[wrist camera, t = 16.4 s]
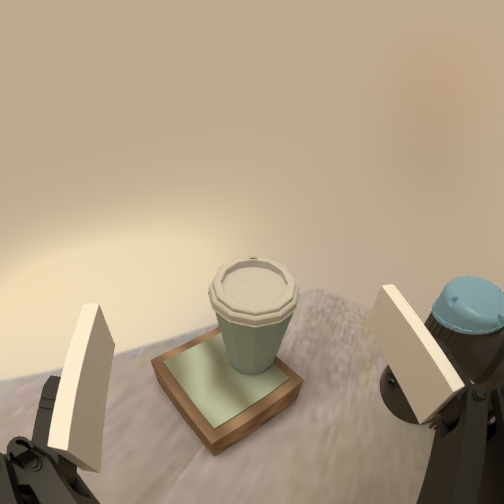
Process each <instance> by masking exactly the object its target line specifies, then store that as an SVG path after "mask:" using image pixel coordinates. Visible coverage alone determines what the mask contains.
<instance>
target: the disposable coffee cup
mask: <svg viewBox="0 0 504 504" xmlns="http://www.w3.org/2000/svg"><path fill="white" fill-rule="evenodd" d="M298 291H299V288H298V286H297V285H296V282H295V280H294V279H293V277H292V276H291V274H290V272H289V270H288V269H287V268H286V267H284V266H283V265H281V264H279V263H278V262H276V261H275V260H273V259H269V258H263V257H242V258H235V259H233V260H231V261H230V262H228V263H227V264H225V265H224V266H222V267H220V268H219V270H218V272H217V274H216V276H215V277H214V279H213V281H212V283H211V285H210V286H209V292H208V294H209V298H210V302H211V305H212V309H213V310H214V311H215V312H216V316H217V320H218V323H219V327H220V330H221V334H222V338H223V341H224V345H225V348H226V352H227V355H228V358H229V361H230V364H231V365H232V366H233V367H234V368H235V369H236V370H238V371H239V372H240V373H244V374H249V375H254V374H258V373H262V372H264V371H265V370H266V369H267V368H268V367H269V366H270V365H272V363H273V361H274V359H275V356H276V354H277V351H278V349H279V347H280V344H281V342H282V339H283V337H284V334H285V332H286V329H287V327H288V324H289V322H290V319H291V317H292V314H293V312H294V311H295V310H296V309H297V303H298V297H299V293H298Z"/></svg>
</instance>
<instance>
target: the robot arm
mask: <svg viewBox="0 0 504 504" xmlns="http://www.w3.org/2000/svg"><path fill="white" fill-rule="evenodd" d="M365 325H366V326H367V328H368V330H369V331H370V333H371V335H372V337H373V338H374V340H375V342H376V343H377V345H378V347H379V349H380V350H381V352H382V354H383V356H384V358H385V359H386V361H387V363H388V365H387V367H386V368H385V370H384V371H383V373H382V376H381V380H380V390H381V394H382V397H383V400H384V402H385V404H386V405H387V407H388V408H389V409H390V410H391V411H392V412H393V413H394V414H395V415H396V416H398V417H399V418H401V419H403V420H405V421H407V422H411V423H417V424H421V423H427V422H430V421H432V420H434V419H435V420H434V421H433V422H432V423H431V424H430V427H429V428H432V427H433V426H434V425H435V424H437V425H436V426H435V427H434V430H436V431H435V436H434V441H433V446H432V451H431V455H430V459H429V463H428V467H427V471H426V475H425V478H424V482H423V485H422V488H421V492H420V495H419V498H418V501H417V504H504V293H503V292H501V289H500V288H499V287H498V286H496V285H494V284H493V283H491V282H489V281H487V280H484V279H482V278H478V277H473V276H465V277H457V278H455V279H453V280H451V281H450V282H449V283H448V284H447V285H446V286H445V287H444V289H443V291H442V293H441V295H440V296H439V298H438V299H437V300H436V301H435V302H434V304H433V307H432V311H431V313H430V315H429V317H428V318H427V320H426V322H425V323H424V324H423V323H422V322H421V320H420V319H419V318H418V316H417V315H416V313H415V312H414V311H413V309H412V308H411V307H410V305H409V304H408V303H407V301H406V300H405V299H404V297H403V296H402V295H401V294H400V292H399V291H398V290H397V288H396V287H395V286H394V285H393V284H390V285H383V286H381V288H380V291H379V293H378V296H377V298H376V301H375V303H374V306H373V308H372V310H371V313H370V315H369V317H368V319H367V322H366V324H365ZM114 348H115V343H114V341H113V339H112V336H111V334H110V331H109V329H108V326H107V324H106V321H105V319H104V316H103V313H102V310H101V308H100V305H99V304H84V305H83V308H82V311H81V313H80V316H79V319H78V322H77V325H76V328H75V331H74V334H73V337H72V340H71V344H70V347H69V350H68V354H67V357H66V361H65V365H64V368H63V372H62V375H61V377H57V376H50V377H49V379H48V380H47V381H46V383H45V384H44V386H43V390H42V394H41V399H40V402H39V409H38V411H37V415H36V420H35V425H34V430H33V436H32V440H31V441H30V440H28V439H27V438H25V437H21V436H18V437H15V438H13V439H12V440H11V441H10V442H9V444H8V446H7V454H2V453H0V504H100V503H99V502H98V500H97V499H96V498H95V497H94V495H93V494H92V493H91V491H90V490H89V489H88V487H87V486H86V484H85V483H84V482H83V480H82V479H81V477H80V476H79V475H78V474H77V467H79V468H80V469H82V470H85V471H90V472H96V473H101V454H102V438H103V426H104V416H105V407H106V399H107V391H108V384H109V378H110V371H111V365H112V359H113V353H114ZM469 380H471V381H473V382H474V383H476V384H472V383H471V382H470V381H469ZM439 415H440V416H439ZM438 416H439V417H438ZM494 416H495V420H496V421H495V422H493V423H492V424H491V423H490V419H492V418H493V417H494ZM437 417H438V418H437ZM436 418H437V419H436Z"/></svg>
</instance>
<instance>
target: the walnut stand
mask: <svg viewBox="0 0 504 504" xmlns="http://www.w3.org/2000/svg"><path fill="white" fill-rule="evenodd" d="M151 363H152V366H153V368H154V371H155V374H156V377H157V380H158V382H159V383H160V385H161V386H162V388H163V389H164V391H165V392H166V394H167V395H168V397H169V398H170V399H171V401H172V402H173V404H174V405H175V406H176V408H177V409H178V411H179V412H180V413H181V415H182V416H183V417H184V419H185V420H186V421H187V423H188V424H189V425H190V427H191V428H192V429H193V431H194V432H195V433H196V434H197V436H198V437H199V438H200V439H201V441H202V442H203V443H204V444H205V446H206V447H207V448H208V449H209V450H210V452H211V453H212V454H213V455H214V456H215V455H217V454H219V453H220V452H222V451H223V450H225V449H227V448H228V447H230V446H231V445H233V444H235V443H236V442H238V441H239V440H241V439H242V438H244V437H245V436H247V435H248V434H250V433H251V432H253V431H254V430H256V429H257V428H258V427H260V426H261V425H263V424H264V423H265V422H267V421H268V420H270V419H271V418H272V417H274V416H275V415H276V414H278V413H279V412H280V411H282V410H283V409H284V408H286V407H287V406H288V405H290V404H291V403H292V402H294V401H295V400H296V399H297V396H298V394H299V391H300V389H301V386H302V384H303V381H304V380H303V379H302V378H300V377H299V376H298V375H297V374H296V373H295V372H293V371H292V370H291V369H290V368H289V367H288V366H287V365H285V364H284V363H283V362H282V361H281V360H280V359H279V358H278V357H276V356H275V359H274V361H273V363H272V365H270V366H269V367H268V368H267V369H266V370H265V371H264V372H262V373H258V374H254V375H249V374H244V373H240V372H239V371H238V370H236V369H235V368H234V367H233V366H232V365H231V364H230V361H229V358H228V355H227V352H226V348H225V345H224V341H223V338H222V334H221V330H220V327H218V328H216V329H214V330H212V331H210V332H208V333H206V334H204V335H202V336H200V337H198V338H196V339H194V340H192V341H190V342H188V343H186V344H184V345H182V346H179V347H177V348H175V349H173V350H171V351H169V352H167V353H165V354H163V355H161V356H158V357H156V358H154V359H152V360H151Z"/></svg>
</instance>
